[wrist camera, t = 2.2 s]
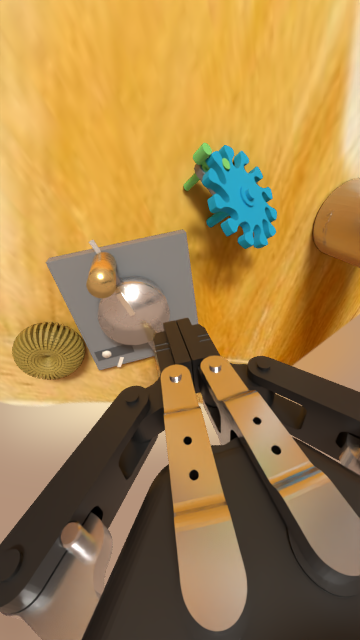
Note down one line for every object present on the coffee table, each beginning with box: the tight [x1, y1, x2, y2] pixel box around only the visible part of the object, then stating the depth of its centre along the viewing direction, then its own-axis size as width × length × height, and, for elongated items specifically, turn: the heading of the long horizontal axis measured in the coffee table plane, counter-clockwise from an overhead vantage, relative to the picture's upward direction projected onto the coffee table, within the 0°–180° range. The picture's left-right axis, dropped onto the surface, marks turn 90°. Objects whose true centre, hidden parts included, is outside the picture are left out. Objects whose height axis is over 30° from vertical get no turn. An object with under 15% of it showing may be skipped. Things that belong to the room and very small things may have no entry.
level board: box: [46, 230, 198, 370], centre depth 30 cm, size 15×18×2 cm
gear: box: [184, 143, 277, 249], centre depth 24 cm, size 11×6×10 cm
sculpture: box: [12, 322, 85, 380], centre depth 29 cm, size 8×4×8 cm
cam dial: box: [86, 252, 170, 377], centre depth 27 cm, size 16×8×6 cm, turn 24°
